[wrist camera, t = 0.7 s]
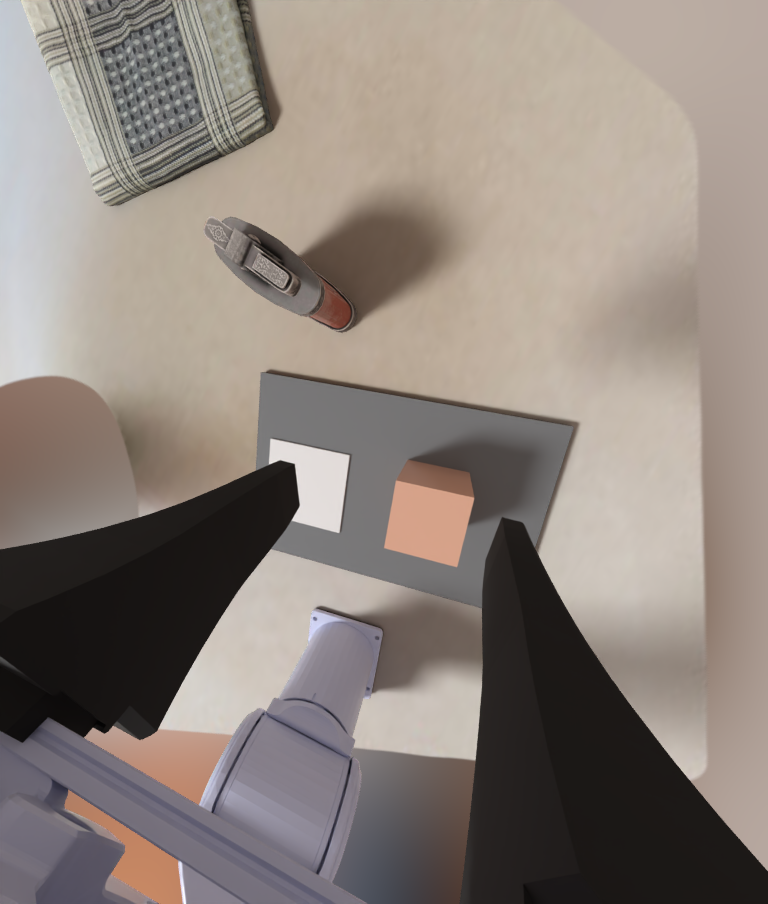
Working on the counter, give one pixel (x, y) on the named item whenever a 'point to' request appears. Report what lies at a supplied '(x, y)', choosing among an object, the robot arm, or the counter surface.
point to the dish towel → (152, 85)
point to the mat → (378, 466)
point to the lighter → (279, 273)
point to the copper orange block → (430, 512)
